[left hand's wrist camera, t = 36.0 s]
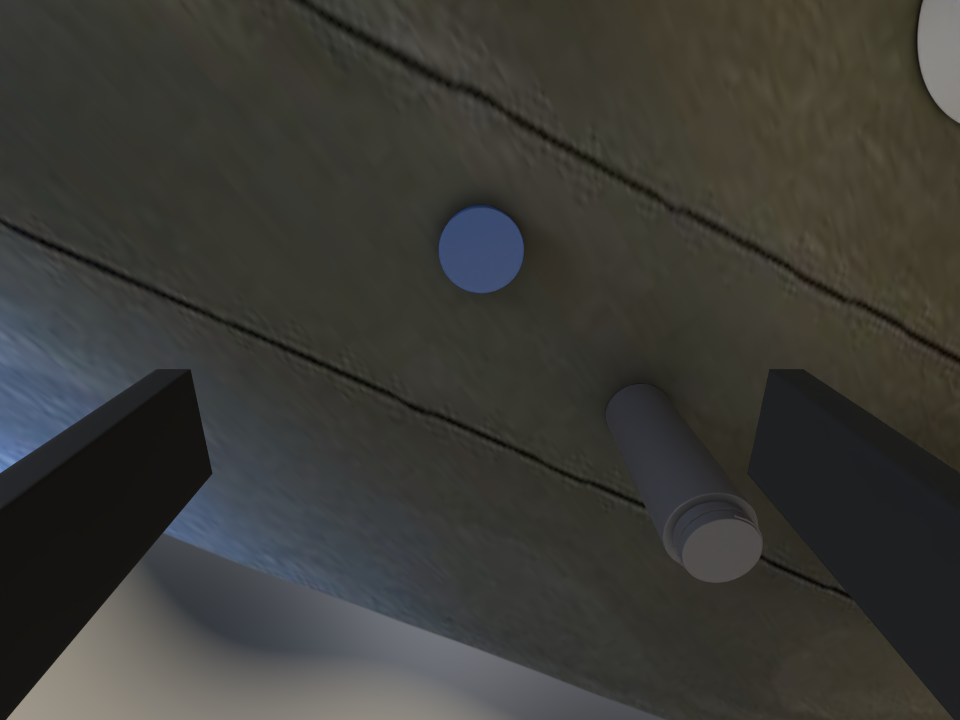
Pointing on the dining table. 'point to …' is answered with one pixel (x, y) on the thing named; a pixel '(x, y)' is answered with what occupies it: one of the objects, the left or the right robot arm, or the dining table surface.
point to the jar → (683, 487)
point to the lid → (481, 249)
